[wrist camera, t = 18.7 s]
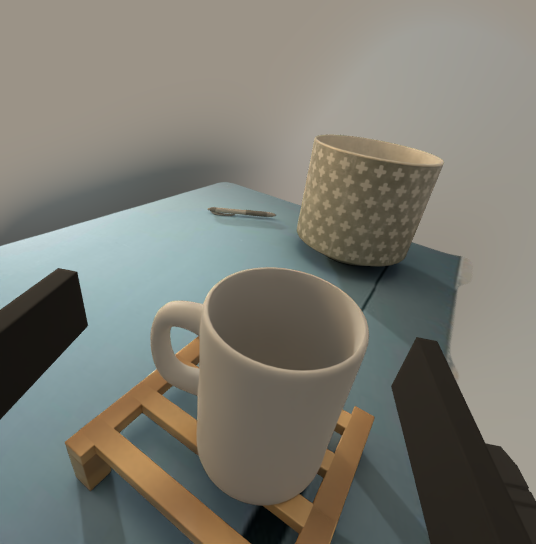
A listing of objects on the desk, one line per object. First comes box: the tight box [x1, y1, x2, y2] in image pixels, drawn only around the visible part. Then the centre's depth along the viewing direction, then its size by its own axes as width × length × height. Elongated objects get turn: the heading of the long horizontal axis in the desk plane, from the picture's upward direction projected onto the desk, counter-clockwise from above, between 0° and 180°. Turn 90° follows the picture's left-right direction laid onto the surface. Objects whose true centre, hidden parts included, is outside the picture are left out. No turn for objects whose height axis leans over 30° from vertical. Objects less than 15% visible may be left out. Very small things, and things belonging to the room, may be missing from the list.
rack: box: [65, 336, 374, 544], centre depth 23 cm, size 16×14×4 cm
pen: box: [208, 207, 276, 217], centre depth 65 cm, size 1×14×1 cm, turn 96°
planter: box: [297, 135, 444, 266], centre depth 53 cm, size 19×19×18 cm
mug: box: [151, 268, 369, 505], centre depth 19 cm, size 12×8×11 cm
